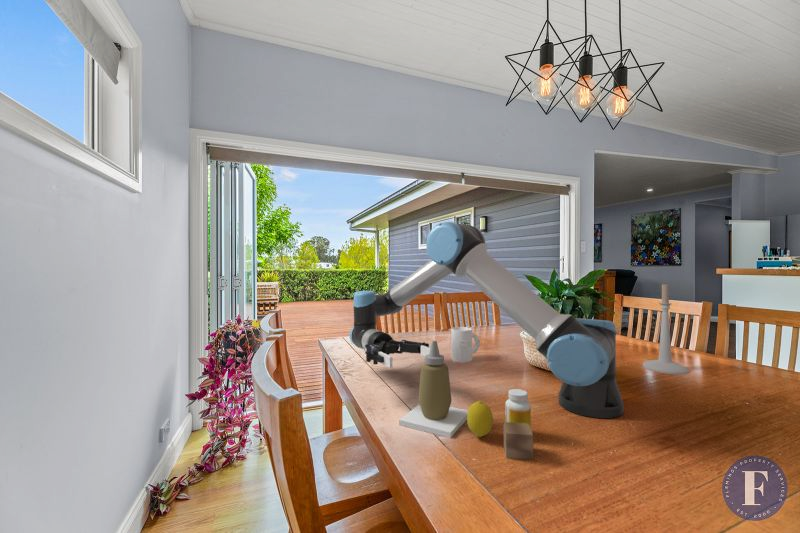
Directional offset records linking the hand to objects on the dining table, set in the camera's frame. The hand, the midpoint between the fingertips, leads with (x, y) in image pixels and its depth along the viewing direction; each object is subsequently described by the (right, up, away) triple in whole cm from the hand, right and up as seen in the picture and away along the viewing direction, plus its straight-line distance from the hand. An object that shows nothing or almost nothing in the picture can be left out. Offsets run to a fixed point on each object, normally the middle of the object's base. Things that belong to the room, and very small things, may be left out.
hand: (413, 358), depth 97 cm
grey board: (+5, -13, -8) cm, 16 cm away
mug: (+22, -12, +45) cm, 52 cm away
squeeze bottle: (+5, -12, -8) cm, 15 cm away
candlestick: (+89, -11, +31) cm, 95 cm away
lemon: (+14, -13, -17) cm, 25 cm away
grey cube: (+20, -13, -23) cm, 33 cm away
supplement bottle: (+22, -13, -16) cm, 30 cm away
